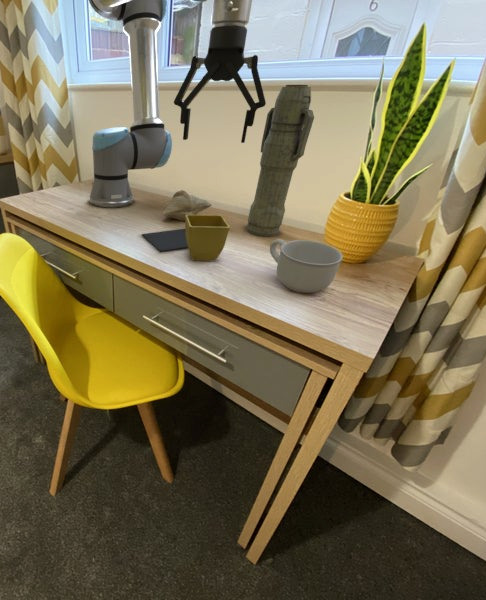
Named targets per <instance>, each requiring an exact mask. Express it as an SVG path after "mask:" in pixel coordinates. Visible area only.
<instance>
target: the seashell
mask: <svg viewBox="0 0 486 600" xmlns="http://www.w3.org/2000/svg"><path fill="white" fill-rule="evenodd" d="M212 206H213V204H212V203H210V202H209V201H207V200H205V199H202V198H199V197H198V196H195V195H193V194H189V193H188V192H187V191H185V190H184V189H183V190H182V189H181V190H177V191H176V192H175V193H174V194H173V196H172V198H171V199H170V200H169V201H168V202H166V204H165V205H164V208H163V212H162V214H163V215H165V216H167V217H169V218H171V219H173V220H177V221H180V222H182V221H184V222H185V215H198V213H202V212H203V211H205V210H207V209H208V208H211V207H212Z"/></svg>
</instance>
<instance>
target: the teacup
mask: <svg viewBox="0 0 486 600" xmlns="http://www.w3.org/2000/svg"><path fill="white" fill-rule="evenodd" d="M277 245H279V246H280V249H279V250H280V251H279V253H278V250H277ZM269 253H270V256H271V258H273V260H274V261H275V263H276V270H275V271H276V276H277V278H278V280H279V281H280V282H281V283H282V284H283V285H284V287H285V288H287V289H289V290H290V291H293V292H295V293H300V294H312V293H316V292H320V291H323V290H325V289H327V288H328V287H330V285H331V284H332V282H333V281H334V279H335V277H336V275H337V272H338V270H339V267H340V264H341V262H342V261H343V258H344V256H343V253H342V252H341V251H340V249H337V248H336V247H334V246H332V245H330V244H327V243H325V242H321V241H317V240H311V239H310V240H309V239H293V240H289V241H286V240H284V239H282V238H278V239H277V238H276V239H274V240H273V241H272V242H271V243H270V246H269Z"/></svg>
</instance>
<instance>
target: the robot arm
mask: <svg viewBox="0 0 486 600" xmlns="http://www.w3.org/2000/svg"><path fill="white" fill-rule="evenodd" d="M189 1H190V3H191V2H192V3H194V4H195V3H205V2H207V0H189ZM212 1H213V2H212V9H211V18H210V25H211V26H212V28H210V30H209V36H208V44H207V53H206V56H205V57H198V56H197V55H194V56H192V58H191V62H190V68H189V70H188V72H187V73H186V76H185V78H184V80H183V82H182V84H181V86H180V87H179V90H178V92H177V94H176V96H175V98H174V100H173V104H174V105H175V106H177V107H179V108H180V118H179V119H180V120H179V122H180V124H181V125H183V135H182V140H183V141H186V140H188V139H189V130H190V120H191V118H190V117H191V110H192V108H188V107H189V106H190V104H192V102H193V101H194V99H195V98H196V97H198V95H199V94H200V93H201V91H202V90H203V89H204V88H205V86H207V84H208V83H209V82H210V81H214V82H220V81H223V82H231V81H232V80H234V82H235V84H236V86H237V87H238V89H239V91H240V92H241V94H242V96H243V99H245V102H246V103H247V105H248V107H249V109H246V112H245V118H244V123H243V130H242V135H241V140H240V143H241V144H244V143H245V141H246V136H247V131H248V127H253V125H254V122H255V118H256V117H255V116H256V112H257V110H259V109H261V108H263V107H265V106H266V105H267V102H266V97H265V93H264V89H263V86H262V82H261V78H260V74H259V70H258V65H259V64H258V63H259V57H258V55H257V54H254V55H252V56H246V57H245V53H244V52H245V47H246V42H247V41H246V40H247V34H248V29H247V27H246V26H247V25H248V24H249V22H250V15H251V10H252V3H253V0H212ZM88 2H89V4H90V6H91V8H92V9H93V10H94V12H95V13H96V14H98V15H99V16H100V17H102V18H104V19H106V20H110V21H117V22H121V23H122V30H123V33H124V34H125V35H126V36H128V46H129V47H128V50H129V65H130V76H131V77H130V79H131V94H132V95H131V96H132V108H133V109H132V110H133V122H132V124H131V125H130V127H129V129H128V128H127V127H126V126H125V127H124V126H119V127H110V128H105V129H99V130H98V131H96V132H95V133H93V135H92V148H91V151H92V161H93V163H92V164H93V183H92V187H91V191H90V194H89V201H90V202H89V203H90V204H91V205H93V206H96V207H100V208H123V207H126V206H129V205H131V204H133V202H134V195H133V192H132V189H131V185H130V182H129V171H131V170H132V171H133V170H146V169H150V170H153V169H157V168H163V167H164V166H166V164H167V163H168V162H169V159H170V157H171V154H172V150H173V149H172V148H173V138H172V136H171V133H170V132H169V131H168V130H165V129H166V128H165V122H164V121H162V120H161V119H160V100H159V97H160V96H159V95H160V94H159V77H158V75H159V74H158V72H159V71H158V52H157V49H158V48H157V33H158V31H159V29H160V28H161V24H162V23H163V21H164V20H165V17H166V14H167V7H168V0H88ZM203 65H204V67H205V69H206V73H205V74H204V75H203V76H202V78H201V79H200V80H199V82H198V83H197V84H196V85H195V86H194V88H193V89H192V90H191V92H190V93H189V94H188V96H186V98H185V99H184V97H185V95H186V93H187V91H188V89H189V87H190V85H191V84H192V82H193V80H194V78H195V76H196V74H197V71H198V70H199V69H201V68H202V66H203ZM244 65H246V66H247V69H250V71H251V76H252V79H253V83H254V88H255V92H256V95H257V99H258V101H257V102H255V100H254V98H253V97H252V95H251V92H249V89H248V87H247V86H246V85H245V83H244V81H243V79H242V77H241V75H240V74H239V72H240V71H241V69H242V68H243V66H244Z"/></svg>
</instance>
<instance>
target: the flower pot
mask: <svg viewBox="0 0 486 600" xmlns="http://www.w3.org/2000/svg"><path fill="white" fill-rule="evenodd" d="M184 222H185V223H184V224H185V225H184V227H185V228H184V229H185V235H186V242H187V245H188V248H187V249H188V251H189V254H190V257H191V260H192V261H209V262H214V261H215V260H217V258H218V257H220V255H221V253H222V252H223V250H224V248H225V245H226V242H227V239H228V235H229V231H230V228H231V225H229V223H228V222H227V221H226V219H225V218H224V216H223V215H221V214H196V215H185V220H184Z"/></svg>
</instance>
